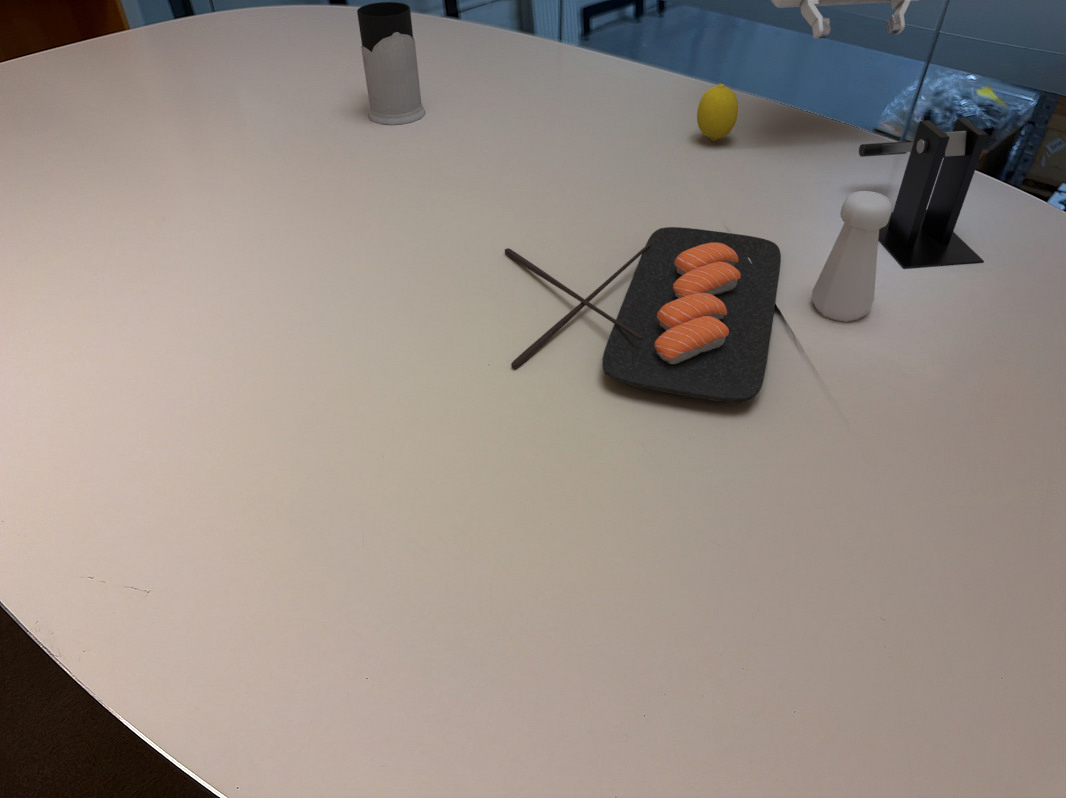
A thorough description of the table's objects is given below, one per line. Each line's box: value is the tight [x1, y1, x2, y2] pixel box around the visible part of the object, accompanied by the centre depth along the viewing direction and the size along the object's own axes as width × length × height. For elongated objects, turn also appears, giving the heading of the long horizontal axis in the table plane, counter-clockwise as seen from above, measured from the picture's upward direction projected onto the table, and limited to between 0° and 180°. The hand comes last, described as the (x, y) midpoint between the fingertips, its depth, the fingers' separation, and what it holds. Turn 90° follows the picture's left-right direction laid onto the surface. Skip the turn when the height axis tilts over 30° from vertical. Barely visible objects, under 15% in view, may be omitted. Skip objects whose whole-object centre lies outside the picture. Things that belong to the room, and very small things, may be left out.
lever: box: [858, 131, 967, 158], centre depth 90 cm, size 15×6×2 cm, turn 7°
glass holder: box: [356, 1, 426, 126], centre depth 122 cm, size 9×14×15 cm, turn 30°
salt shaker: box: [811, 190, 893, 323], centre depth 77 cm, size 6×6×13 cm
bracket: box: [878, 117, 988, 270], centre depth 87 cm, size 12×9×14 cm
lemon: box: [696, 83, 739, 142], centre depth 112 cm, size 6×6×8 cm
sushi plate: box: [504, 226, 782, 403], centre depth 82 cm, size 29×30×4 cm
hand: (859, 34), depth 100 cm, fingers open, 8 cm apart
